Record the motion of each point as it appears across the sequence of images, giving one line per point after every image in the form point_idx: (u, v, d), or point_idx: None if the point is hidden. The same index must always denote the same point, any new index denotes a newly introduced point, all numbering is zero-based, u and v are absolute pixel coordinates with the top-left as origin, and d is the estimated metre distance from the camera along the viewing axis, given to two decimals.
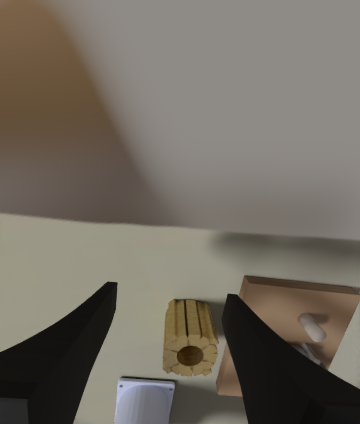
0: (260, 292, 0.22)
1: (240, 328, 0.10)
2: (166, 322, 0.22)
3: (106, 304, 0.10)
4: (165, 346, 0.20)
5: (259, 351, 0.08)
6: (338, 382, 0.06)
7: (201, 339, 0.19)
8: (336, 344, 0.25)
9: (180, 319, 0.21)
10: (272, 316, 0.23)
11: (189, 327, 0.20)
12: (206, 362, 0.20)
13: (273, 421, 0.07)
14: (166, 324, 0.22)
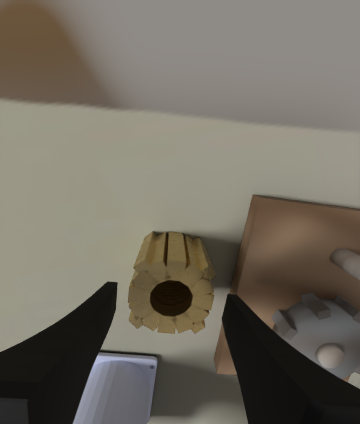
0: (277, 212, 0.15)
1: (240, 328, 0.10)
2: None
3: (106, 304, 0.10)
4: None
5: (259, 351, 0.08)
6: (338, 382, 0.06)
7: (188, 268, 0.12)
8: None
9: (157, 248, 0.14)
10: (293, 253, 0.16)
11: (169, 254, 0.13)
12: (197, 310, 0.13)
13: (273, 421, 0.07)
14: None
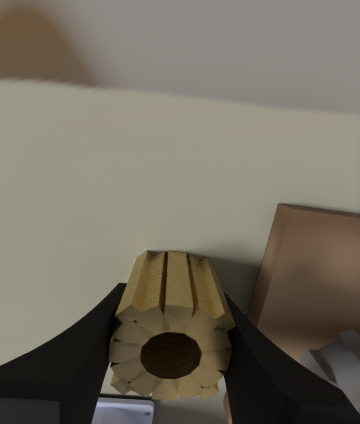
0: (313, 228, 0.11)
1: None
2: None
3: None
4: (113, 334, 0.09)
5: (243, 350, 0.08)
6: (317, 381, 0.06)
7: (196, 316, 0.08)
8: None
9: (152, 279, 0.10)
10: (332, 280, 0.12)
11: (169, 292, 0.09)
12: (207, 370, 0.09)
13: (253, 420, 0.07)
14: None
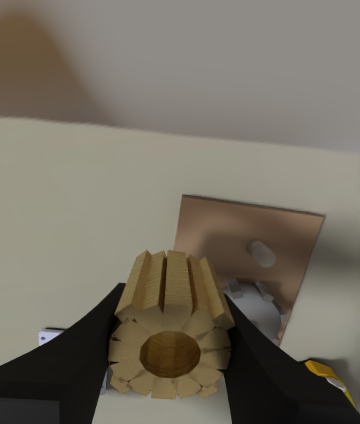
0: (198, 209, 0.18)
1: None
2: None
3: None
4: (112, 333, 0.09)
5: (243, 350, 0.08)
6: (317, 380, 0.06)
7: (195, 315, 0.08)
8: (296, 283, 0.21)
9: (152, 278, 0.10)
10: (215, 243, 0.19)
11: (168, 291, 0.09)
12: (207, 369, 0.09)
13: (253, 420, 0.07)
14: None
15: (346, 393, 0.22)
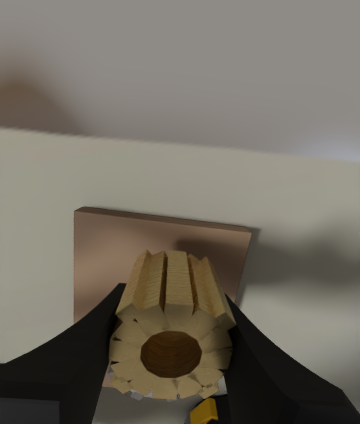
0: (95, 226, 0.15)
1: None
2: None
3: None
4: (113, 333, 0.09)
5: (243, 350, 0.08)
6: (317, 381, 0.06)
7: (196, 314, 0.08)
8: None
9: (152, 278, 0.10)
10: (122, 265, 0.16)
11: (169, 290, 0.09)
12: (207, 369, 0.09)
13: (253, 420, 0.07)
14: None
15: None
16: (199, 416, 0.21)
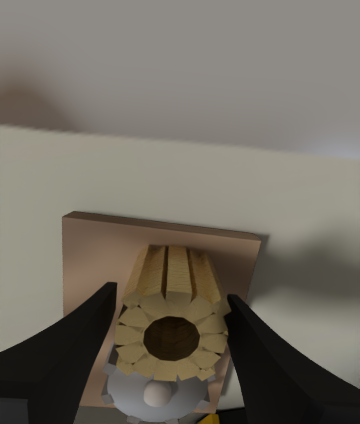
0: (86, 233, 0.13)
1: (240, 328, 0.10)
2: None
3: (106, 304, 0.10)
4: (118, 318, 0.09)
5: (259, 351, 0.08)
6: (338, 382, 0.06)
7: (195, 301, 0.09)
8: None
9: (154, 270, 0.11)
10: (117, 277, 0.14)
11: (170, 280, 0.10)
12: (205, 352, 0.10)
13: (273, 421, 0.07)
14: None
15: None
16: None
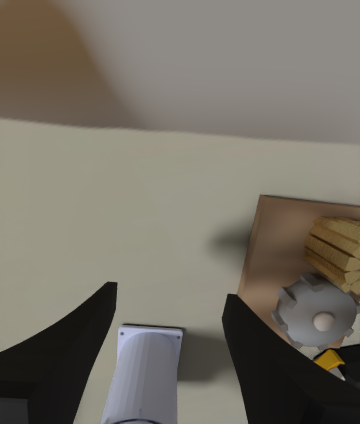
0: (279, 208, 0.19)
1: (240, 328, 0.10)
2: (322, 239, 0.18)
3: (106, 304, 0.10)
4: (350, 254, 0.15)
5: (259, 351, 0.08)
6: (338, 382, 0.06)
7: None
8: None
9: (352, 227, 0.17)
10: (293, 240, 0.20)
11: None
12: None
13: (273, 421, 0.07)
14: (324, 240, 0.18)
15: None
16: (327, 362, 0.25)
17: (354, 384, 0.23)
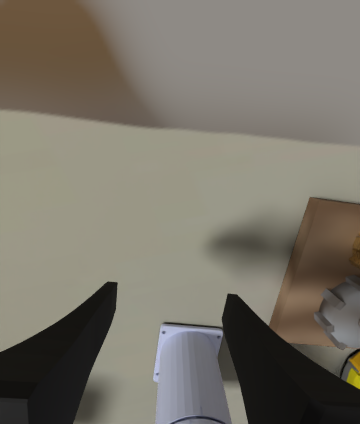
0: (331, 211, 0.19)
1: (240, 328, 0.10)
2: None
3: (106, 304, 0.10)
4: None
5: (259, 351, 0.08)
6: (338, 382, 0.06)
7: None
8: None
9: None
10: (342, 243, 0.20)
11: None
12: None
13: (273, 421, 0.07)
14: None
15: None
16: None
17: None
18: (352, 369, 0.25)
